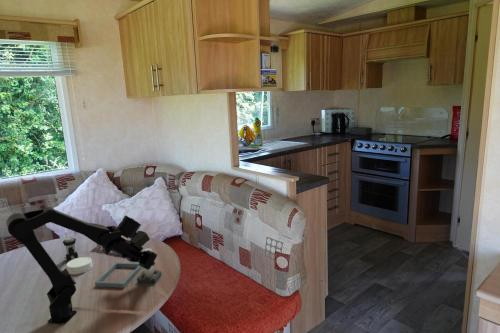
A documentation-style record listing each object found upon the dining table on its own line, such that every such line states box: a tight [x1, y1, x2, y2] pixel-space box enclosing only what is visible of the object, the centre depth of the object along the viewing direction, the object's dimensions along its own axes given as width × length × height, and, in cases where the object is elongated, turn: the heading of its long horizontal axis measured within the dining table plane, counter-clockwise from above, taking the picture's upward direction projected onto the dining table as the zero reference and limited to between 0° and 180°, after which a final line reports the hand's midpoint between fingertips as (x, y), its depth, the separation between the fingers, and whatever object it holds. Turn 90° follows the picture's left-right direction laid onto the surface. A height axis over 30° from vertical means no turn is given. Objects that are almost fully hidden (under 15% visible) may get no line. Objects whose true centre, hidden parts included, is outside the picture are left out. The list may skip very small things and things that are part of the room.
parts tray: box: [94, 262, 143, 289], centre depth 140 cm, size 16×12×2 cm
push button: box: [61, 236, 79, 262], centre depth 158 cm, size 7×5×10 cm
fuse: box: [141, 248, 155, 278], centre depth 136 cm, size 4×4×12 cm
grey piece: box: [134, 269, 164, 287], centre depth 137 cm, size 10×8×3 cm
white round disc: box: [65, 256, 93, 276], centre depth 149 cm, size 10×10×4 cm
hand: (150, 262), depth 137 cm, fingers closed on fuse, 4 cm apart
